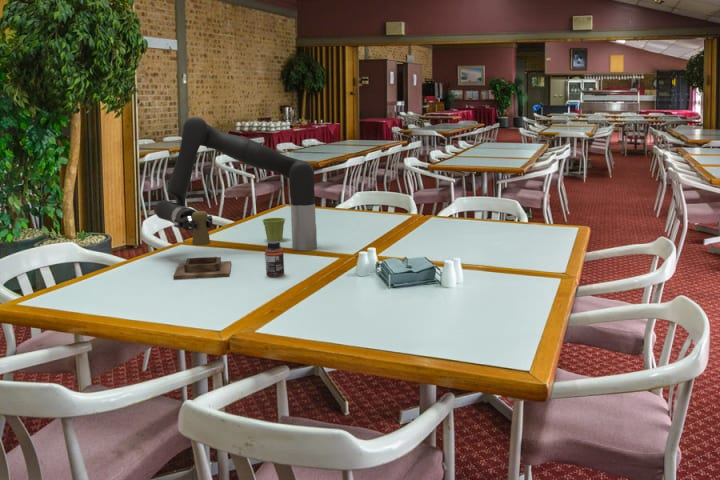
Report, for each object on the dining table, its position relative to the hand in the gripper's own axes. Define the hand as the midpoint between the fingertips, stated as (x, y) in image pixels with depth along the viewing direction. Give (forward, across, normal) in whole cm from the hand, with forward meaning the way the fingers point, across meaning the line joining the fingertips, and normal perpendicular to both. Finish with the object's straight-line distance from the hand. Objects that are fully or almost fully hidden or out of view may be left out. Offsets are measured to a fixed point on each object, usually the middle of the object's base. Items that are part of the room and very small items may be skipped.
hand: (203, 225), depth 249 cm
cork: (-3, 0, +7) cm, 7 cm away
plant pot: (-35, +43, +17) cm, 58 cm away
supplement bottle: (+17, +18, +16) cm, 29 cm away
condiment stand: (-2, 0, +16) cm, 16 cm away
